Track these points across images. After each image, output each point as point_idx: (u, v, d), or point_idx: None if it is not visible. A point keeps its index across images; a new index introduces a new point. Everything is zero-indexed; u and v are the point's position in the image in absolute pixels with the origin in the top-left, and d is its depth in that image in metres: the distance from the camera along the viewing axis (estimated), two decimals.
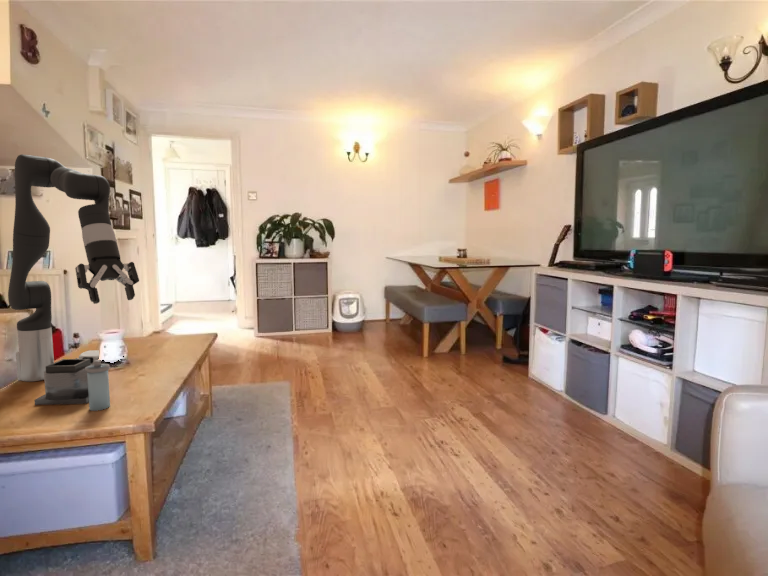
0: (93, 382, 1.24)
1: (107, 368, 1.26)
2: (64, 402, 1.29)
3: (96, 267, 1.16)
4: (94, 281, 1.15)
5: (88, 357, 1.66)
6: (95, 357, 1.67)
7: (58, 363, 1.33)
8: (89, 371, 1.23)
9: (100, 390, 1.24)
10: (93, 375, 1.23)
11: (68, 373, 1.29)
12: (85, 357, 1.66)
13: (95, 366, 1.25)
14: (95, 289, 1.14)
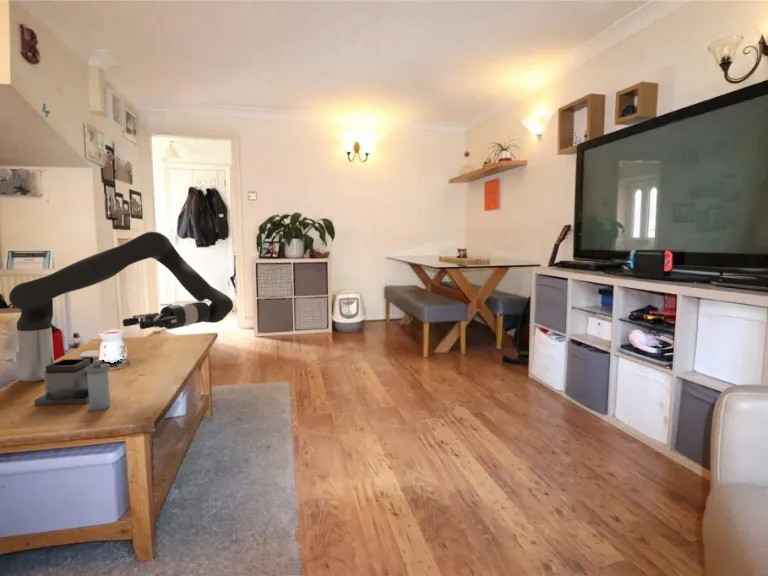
0: (94, 382, 1.24)
1: (107, 368, 1.26)
2: (64, 402, 1.29)
3: None
4: None
5: (88, 357, 1.66)
6: (95, 357, 1.67)
7: (58, 363, 1.33)
8: (89, 371, 1.23)
9: (100, 390, 1.24)
10: (93, 375, 1.23)
11: (68, 373, 1.29)
12: (85, 357, 1.66)
13: (95, 366, 1.25)
14: None
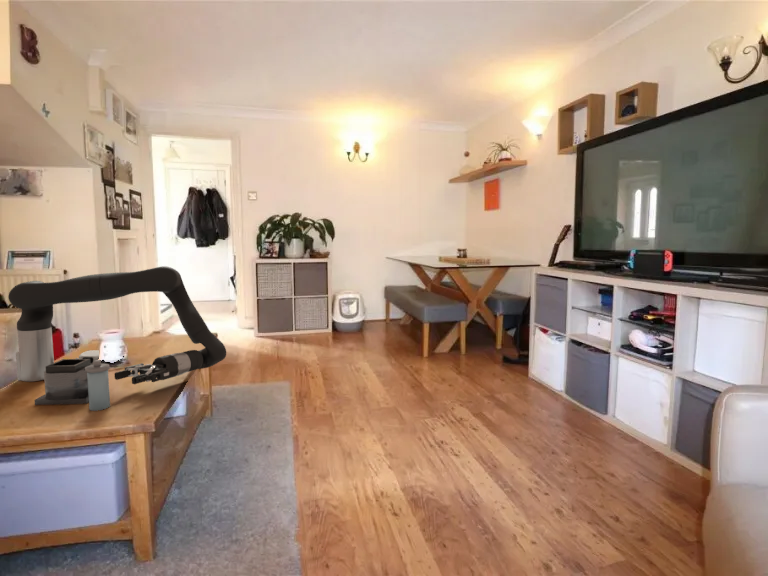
0: (93, 382, 1.24)
1: (107, 368, 1.26)
2: (64, 402, 1.29)
3: None
4: None
5: (88, 357, 1.66)
6: (95, 357, 1.67)
7: (58, 363, 1.33)
8: (89, 371, 1.23)
9: (100, 390, 1.24)
10: (93, 375, 1.23)
11: (68, 373, 1.29)
12: (85, 357, 1.66)
13: (95, 366, 1.25)
14: None
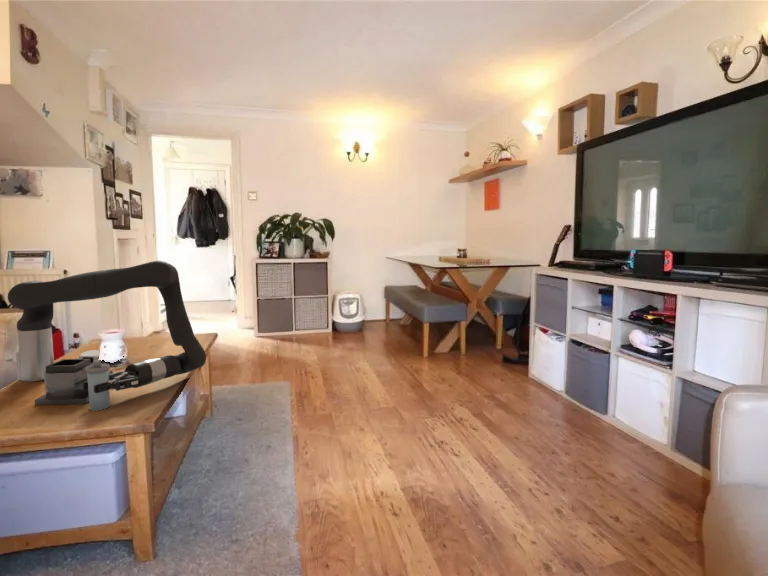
0: (93, 382, 1.24)
1: (107, 368, 1.25)
2: (64, 402, 1.29)
3: None
4: None
5: (88, 357, 1.66)
6: (95, 357, 1.67)
7: (58, 363, 1.33)
8: (89, 371, 1.23)
9: None
10: (93, 375, 1.23)
11: (68, 373, 1.29)
12: (85, 357, 1.66)
13: (95, 366, 1.25)
14: None
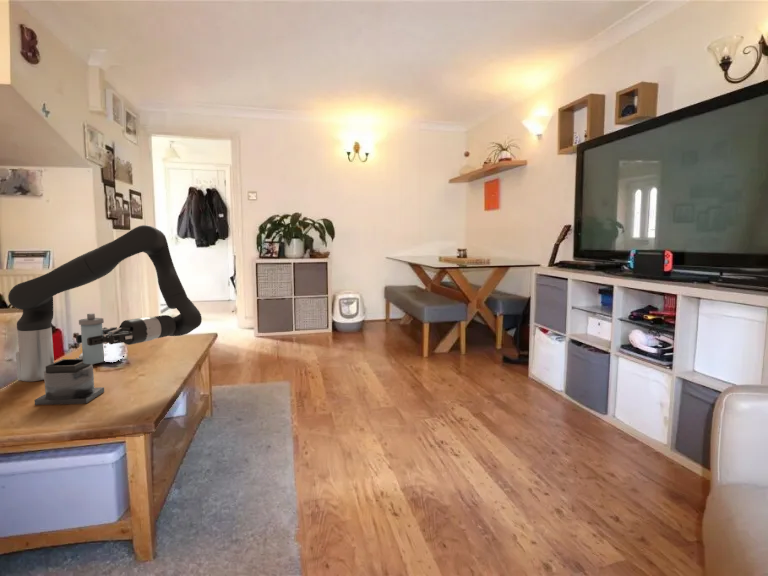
0: (87, 335, 1.23)
1: (101, 321, 1.24)
2: (64, 402, 1.29)
3: None
4: None
5: None
6: None
7: (58, 363, 1.33)
8: (83, 323, 1.22)
9: None
10: (86, 327, 1.22)
11: (68, 373, 1.29)
12: None
13: (88, 319, 1.24)
14: None
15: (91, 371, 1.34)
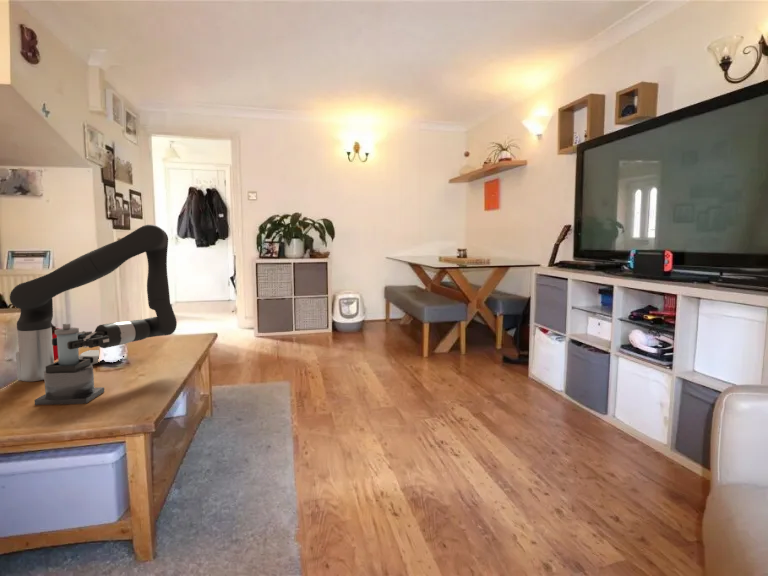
0: (62, 344, 1.30)
1: (76, 331, 1.32)
2: (64, 402, 1.29)
3: None
4: None
5: (88, 357, 1.66)
6: (95, 357, 1.67)
7: (58, 363, 1.33)
8: (58, 333, 1.29)
9: (69, 351, 1.31)
10: (62, 337, 1.30)
11: (68, 373, 1.29)
12: (85, 357, 1.66)
13: (64, 329, 1.31)
14: None
15: (91, 371, 1.34)
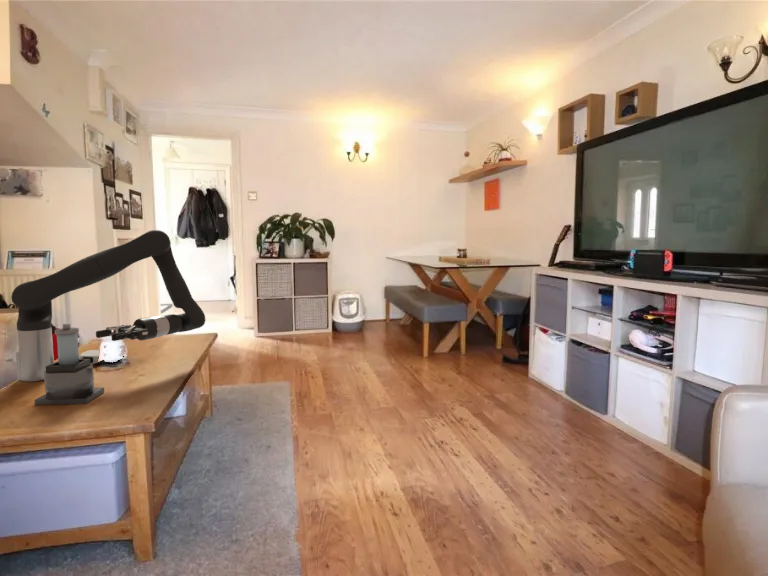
0: (63, 344, 1.30)
1: (76, 331, 1.32)
2: (64, 402, 1.29)
3: None
4: None
5: (88, 357, 1.66)
6: (95, 357, 1.67)
7: (58, 363, 1.33)
8: (58, 333, 1.29)
9: (69, 351, 1.31)
10: (62, 337, 1.30)
11: (68, 373, 1.29)
12: (85, 357, 1.66)
13: (64, 329, 1.31)
14: None
15: (91, 371, 1.34)
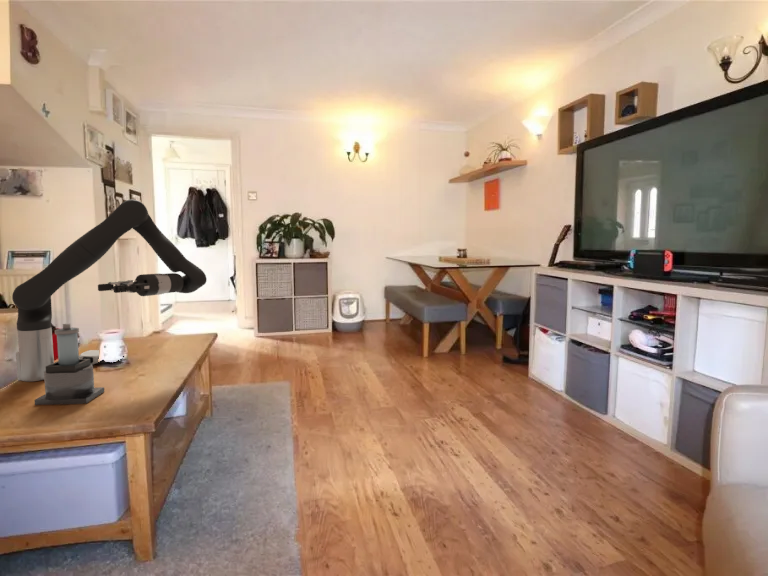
0: (63, 344, 1.30)
1: (76, 331, 1.32)
2: (64, 402, 1.29)
3: None
4: (130, 291, 1.45)
5: (88, 357, 1.66)
6: (95, 357, 1.67)
7: (58, 363, 1.33)
8: (58, 333, 1.29)
9: (69, 351, 1.31)
10: (62, 337, 1.30)
11: (68, 373, 1.29)
12: (85, 357, 1.66)
13: (64, 329, 1.31)
14: (124, 291, 1.43)
15: (91, 371, 1.34)
